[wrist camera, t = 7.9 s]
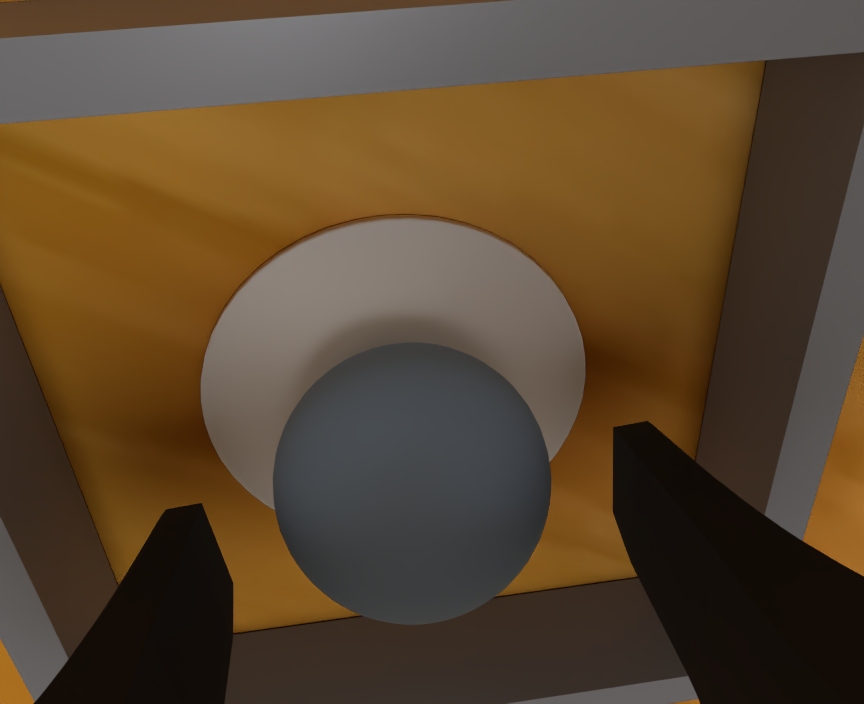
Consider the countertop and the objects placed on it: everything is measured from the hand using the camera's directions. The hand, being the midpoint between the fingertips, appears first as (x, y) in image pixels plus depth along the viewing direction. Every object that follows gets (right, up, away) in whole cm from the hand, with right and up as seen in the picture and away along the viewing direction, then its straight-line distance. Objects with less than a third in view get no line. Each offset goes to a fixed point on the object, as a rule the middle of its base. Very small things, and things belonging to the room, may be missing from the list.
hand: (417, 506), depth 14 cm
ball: (0, 0, +1) cm, 1 cm away
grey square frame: (0, +2, +3) cm, 3 cm away
